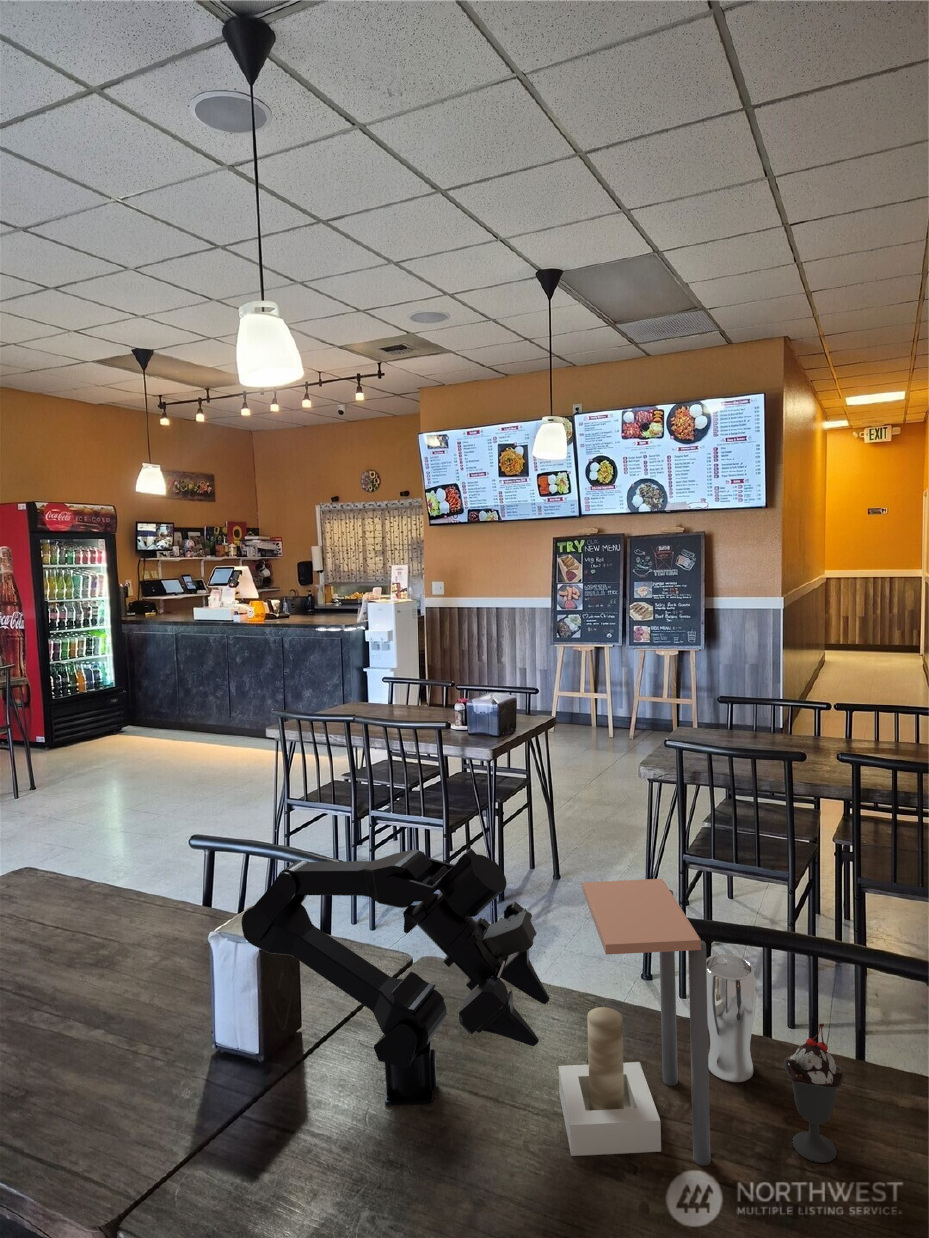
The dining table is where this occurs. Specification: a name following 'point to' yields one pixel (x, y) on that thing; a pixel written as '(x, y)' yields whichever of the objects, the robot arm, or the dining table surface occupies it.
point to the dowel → (605, 1059)
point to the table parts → (658, 924)
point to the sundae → (814, 1096)
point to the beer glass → (730, 1016)
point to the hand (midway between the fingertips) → (542, 1021)
